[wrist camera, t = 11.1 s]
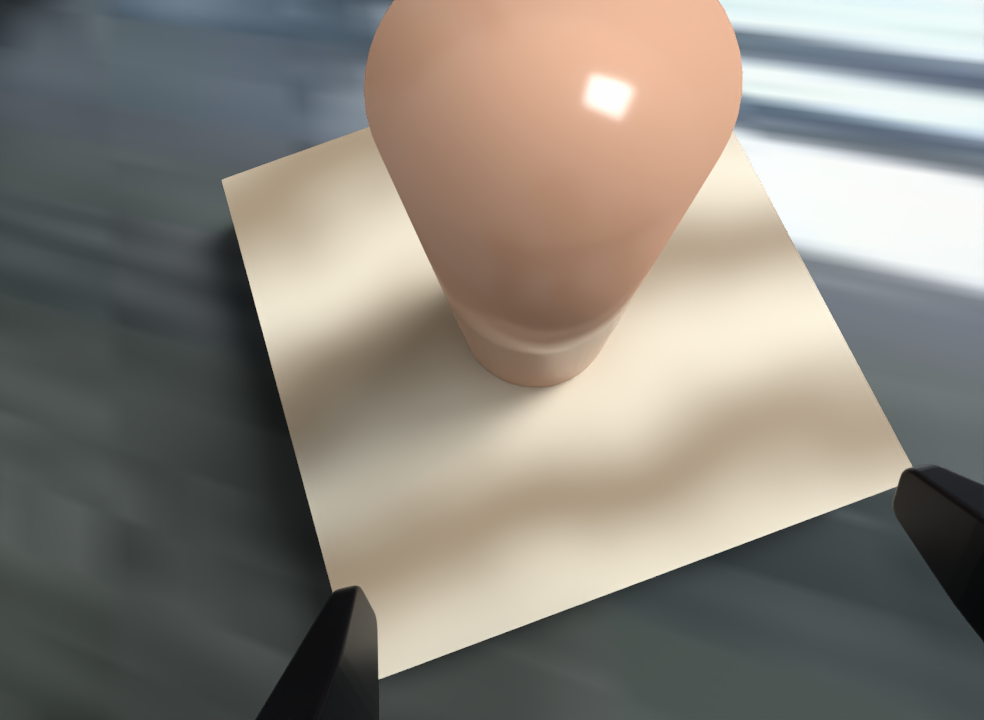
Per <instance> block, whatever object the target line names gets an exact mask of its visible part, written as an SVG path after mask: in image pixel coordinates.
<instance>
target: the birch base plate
mask: <svg viewBox="0 0 984 720" xmlns="http://www.w3.org/2000/svg"><path fill="white" fill-rule="evenodd" d="M222 183H223V187H224V191H225V194H226V198H227V202H228V205H229V209H230V213H231V217H232V220H233V224H234V228H235V231H236V235H237V239H238V243H239V246H240V250H241V254H242V257H243V261H244V265H245V269H246V272H247V276H248V280H249V283H250V287H251V291H252V295H253V298H254V302H255V306H256V309H257V313H258V317H259V321H260V324H261V328H262V332H263V335H264V339H265V343H266V347H267V350H268V354H269V358H270V361H271V365H272V369H273V373H274V376H275V380H276V384H277V387H278V391H279V395H280V399H281V402H282V406H283V410H284V414H285V417H286V421H287V425H288V428H289V432H290V436H291V440H292V443H293V447H294V451H295V454H296V458H297V462H298V466H299V469H300V473H301V477H302V480H303V484H304V488H305V492H306V495H307V499H308V503H309V506H310V510H311V514H312V518H313V521H314V525H315V529H316V532H317V536H318V540H319V544H320V547H321V551H322V555H323V558H324V562H325V566H326V570H327V573H328V577H329V581H330V584H331V588H332V592H334V591H335V590H337V589H340V588H345V587H350V586H354V585H357V586H359V587H361V589H362V590H363V592H364V594H365V595H366V597H367V599H368V601H369V603H370V605H371V607H372V608H373V610H374V612H375V615H376V619H377V628H378V678H379V679H382V678H384V677H387V676H390V675H392V674H395V673H398V672H401V671H403V670H406V669H409V668H411V667H414V666H417V665H419V664H422V663H425V662H427V661H430V660H433V659H435V658H438V657H441V656H443V655H446V654H449V653H451V652H454V651H457V650H459V649H462V648H465V647H467V646H470V645H473V644H476V643H478V642H481V641H484V640H486V639H489V638H492V637H494V636H497V635H500V634H502V633H505V632H508V631H510V630H513V629H516V628H518V627H521V626H524V625H526V624H529V623H532V622H534V621H537V620H540V619H543V618H545V617H548V616H551V615H553V614H556V613H559V612H561V611H564V610H567V609H569V608H572V607H575V606H577V605H580V604H583V603H585V602H588V601H591V600H593V599H596V598H599V597H601V596H604V595H607V594H610V593H612V592H615V591H618V590H620V589H623V588H626V587H628V586H631V585H634V584H636V583H639V582H642V581H644V580H647V579H650V578H652V577H655V576H658V575H660V574H663V573H666V572H668V571H671V570H674V569H677V568H679V567H682V566H685V565H687V564H690V563H693V562H695V561H698V560H701V559H703V558H706V557H709V556H711V555H714V554H717V553H719V552H722V551H725V550H727V549H730V548H733V547H735V546H738V545H741V544H744V543H746V542H749V541H752V540H754V539H757V538H760V537H762V536H765V535H768V534H770V533H773V532H776V531H778V530H781V529H784V528H786V527H789V526H792V525H794V524H797V523H800V522H802V521H805V520H808V519H810V518H813V517H816V516H819V515H821V514H824V513H827V512H829V511H832V510H835V509H837V508H840V507H843V506H845V505H848V504H851V503H853V502H856V501H859V500H861V499H864V498H867V497H869V496H872V495H875V494H877V493H880V492H883V491H886V490H888V489H891V488H894V487H896V486H898V482H899V479H900V476H901V474H902V472H903V471H904V470H905V469H907V468H911V467H912V465H911V463H910V461H909V459H908V458H907V456H906V454H905V452H904V450H903V448H902V446H901V444H900V443H899V441H898V439H897V437H896V435H895V433H894V431H893V429H892V428H891V426H890V424H889V422H888V420H887V418H886V416H885V414H884V413H883V411H882V409H881V407H880V405H879V403H878V401H877V399H876V398H875V396H874V394H873V392H872V390H871V388H870V386H869V385H868V383H867V381H866V379H865V377H864V375H863V373H862V371H861V370H860V368H859V366H858V364H857V362H856V360H855V358H854V356H853V355H852V353H851V351H850V349H849V347H848V345H847V343H846V341H845V340H844V338H843V336H842V334H841V332H840V330H839V328H838V326H837V325H836V323H835V321H834V319H833V317H832V315H831V313H830V311H829V310H828V308H827V306H826V304H825V302H824V300H823V298H822V296H821V295H820V293H819V291H818V289H817V287H816V285H815V283H814V281H813V280H812V278H811V276H810V274H809V272H808V270H807V268H806V266H805V265H804V263H803V261H802V259H801V257H800V255H799V253H798V251H797V250H796V248H795V246H794V244H793V242H792V240H791V238H790V236H789V235H788V233H787V231H786V229H785V227H784V225H783V223H782V221H781V220H780V218H779V216H778V214H777V212H776V210H775V208H774V206H773V205H772V203H771V201H770V199H769V197H768V195H767V193H766V191H765V190H764V188H763V186H762V184H761V182H760V180H759V178H758V176H757V175H756V173H755V171H754V169H753V167H752V165H751V163H750V161H749V160H748V158H747V156H746V154H745V152H744V150H743V148H742V146H741V145H740V143H739V141H738V139H737V137H736V135H735V133H734V131H732V134H731V137H730V139H729V141H728V143H727V145H726V147H725V148H724V150H723V152H722V154H721V156H720V158H719V160H718V161H717V163H716V164H715V166H714V168H713V169H712V171H711V173H710V174H709V176H708V177H707V179H706V181H705V182H704V184H703V186H702V187H701V189H700V190H699V192H698V194H697V195H696V197H695V199H694V200H693V202H692V203H691V205H690V207H689V208H688V210H687V212H686V213H685V215H684V216H683V218H682V220H681V221H680V223H679V225H678V226H677V228H676V229H675V231H674V233H673V234H672V236H671V237H670V239H669V241H668V242H667V244H666V246H665V247H664V249H663V250H662V252H661V254H660V255H659V257H658V259H657V260H656V262H655V263H654V265H653V267H652V268H651V270H650V272H649V273H648V275H647V276H646V278H645V280H644V281H643V283H642V285H641V286H640V288H639V289H638V291H637V293H636V294H635V296H634V298H633V299H632V301H631V302H630V304H629V306H628V307H627V309H626V310H625V312H624V314H623V315H622V317H621V319H620V320H619V322H618V323H617V325H616V327H615V328H614V330H613V332H612V333H611V335H610V336H609V338H608V340H607V341H606V343H605V345H604V346H603V348H602V349H601V351H600V353H599V354H598V355H597V357H596V358H595V360H594V361H593V362H592V363H591V364H590V365H589V366H588V367H587V368H586V369H585V370H584V371H582V372H581V373H580V374H578V375H577V376H575V377H573V378H572V379H570V380H568V381H565V382H563V383H560V384H557V385H553V386H548V387H535V388H531V387H522V386H518V385H514V384H511V383H508V382H506V381H503V380H501V379H499V378H498V377H496V376H494V375H493V374H491V373H490V372H489V371H487V370H486V369H485V368H484V367H483V366H482V365H481V364H480V363H479V362H478V361H477V360H476V358H475V357H474V356H473V354H472V352H471V351H470V349H469V347H468V345H467V343H466V341H465V338H464V336H463V334H462V332H461V330H460V328H459V325H458V323H457V321H456V319H455V317H454V314H453V312H452V310H451V308H450V306H449V304H448V301H447V299H446V297H445V295H444V293H443V291H442V288H441V286H440V284H439V282H438V280H437V277H436V275H435V273H434V271H433V269H432V267H431V264H430V262H429V260H428V258H427V256H426V253H425V251H424V249H423V247H422V245H421V243H420V240H419V238H418V236H417V234H416V232H415V229H414V227H413V225H412V223H411V221H410V219H409V216H408V214H407V212H406V210H405V208H404V205H403V203H402V201H401V199H400V197H399V195H398V192H397V190H396V188H395V186H394V184H393V181H392V179H391V177H390V175H389V173H388V171H387V168H386V166H385V164H384V162H383V160H382V158H381V155H380V153H379V151H378V148H377V146H376V144H375V141H374V139H373V137H372V134H371V130H370V127H367V128H365V129H362V130H359V131H356V132H353V133H351V134H348V135H345V136H342V137H339V138H337V139H334V140H331V141H328V142H326V143H323V144H320V145H317V146H314V147H312V148H309V149H306V150H303V151H300V152H298V153H295V154H292V155H289V156H287V157H284V158H281V159H278V160H275V161H273V162H270V163H267V164H264V165H261V166H259V167H256V168H253V169H250V170H248V171H245V172H242V173H239V174H236V175H234V176H231V177H228V178H225V179H222Z"/></svg>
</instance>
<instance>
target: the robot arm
mask: <svg viewBox="0 0 984 720" xmlns="http://www.w3.org/2000/svg"><path fill="white" fill-rule="evenodd" d="M892 504H893V510H894V513H895V516H896V518H897V519H898V521H899V522H900V524H901V525H902V527H903V528H904V530H905V531H906V533H907V534H908V536H909V537H910V539H911V540H912V542H913V543H914V545H915V547H916V548H917V550H918V551H919V553H920V554H921V556H922V557H923V559H924V560H925V562H926V563H927V565H928V566H929V568H930V569H931V571H932V572H933V574H934V575H935V577H936V578H937V580H938V581H939V583H940V584H941V586H942V587H943V589H944V590H945V592H946V593H947V595H948V596H949V597H950V599H951V600H952V602H953V603H954V605H955V606H956V607H957V609H958V610H959V611H960V613H961V614H962V615H963V616H964V618H965V619H966V620H967V622H968V623H969V624H970V625H971V627H972V628H973V629H974V630H975V632H976V633H977V634H978V635H979V637H980V638H981V639H982V640H983V642H984V485H983V484H980V483H978V482H976V481H973V480H971V479H969V478H966V477H964V476H962V475H959V474H957V473H955V472H952V471H950V470H948V469H945V468H943V467H940V466H938V465H934V464H925V465H920V466H915V467H911V468H907V469H905V470H904V471H903V472H902V474H901V476H900V479H899V482H898V486H897V489H896V492H895V495H894V498H893V503H892ZM255 720H379V678H378V628H377V619H376V615H375V612H374V610H373V608H372V607H371V605H370V603H369V601H368V599H367V597H366V595H365V594H364V592H363V590H362V589H361V587H359V586H357V585H354V586H350V587H345V588H340V589H337V590H335V591H334V592H333V593H332V594H331V596H330V597H329V599H328V600H327V602H326V604H325V605H324V607H323V609H322V610H321V612H320V614H319V615H318V617H317V619H316V620H315V622H314V624H313V625H312V627H311V628H310V630H309V632H308V633H307V635H306V637H305V638H304V640H303V642H302V643H301V645H300V647H299V648H298V650H297V652H296V653H295V655H294V657H293V658H292V660H291V662H290V663H289V665H288V666H287V668H286V670H285V671H284V673H283V675H282V676H281V678H280V680H279V681H278V683H277V685H276V686H275V688H274V690H273V691H272V693H271V695H270V696H269V698H268V700H267V701H266V703H265V705H264V706H263V708H262V709H261V711H260V713H259V714H258V716H257V718H256V719H255Z"/></svg>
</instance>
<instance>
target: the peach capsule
mask: <svg viewBox="0 0 984 720" xmlns="http://www.w3.org/2000/svg"><path fill="white" fill-rule="evenodd" d="M741 96H742V65H741V57H740V50H739V47H738V43H737V40H736V36H735V33H734V29H733V27H732V25H731V23H730V21H729V19H728V16H727V14H726V12H725V10H724V8H723V7H722V5H721V4H720V2H719V1H718V0H394V1H393V3H392V4H391V6H390V7H389V9H388V10H387V11H386V13H385V15H384V17H383V19H382V21H381V23H380V25H379V27H378V29H377V31H376V33H375V36H374V39H373V41H372V44H371V47H370V50H369V54H368V59H367V64H366V70H365V83H364V97H365V107H366V115H367V119H368V123H369V127H370V130H371V134H372V137H373V139H374V141H375V144H376V146H377V148H378V151H379V153H380V155H381V158H382V160H383V162H384V164H385V166H386V168H387V171H388V173H389V175H390V177H391V179H392V181H393V184H394V186H395V188H396V190H397V192H398V195H399V197H400V199H401V201H402V203H403V205H404V208H405V210H406V212H407V214H408V216H409V219H410V221H411V223H412V225H413V227H414V229H415V232H416V234H417V236H418V238H419V240H420V243H421V245H422V247H423V249H424V251H425V253H426V256H427V258H428V260H429V262H430V264H431V267H432V269H433V271H434V273H435V275H436V277H437V280H438V282H439V284H440V286H441V288H442V291H443V293H444V295H445V297H446V299H447V301H448V304H449V306H450V308H451V310H452V312H453V314H454V317H455V319H456V321H457V323H458V325H459V328H460V330H461V332H462V334H463V336H464V338H465V341H466V343H467V345H468V347H469V349H470V351H471V352H472V354H473V356H474V357H475V358H476V360H477V361H478V362H479V363H480V364H481V365H482V366H483V367H484V368H485V369H486V370H487V371H489V372H490V373H491V374H493V375H494V376H496V377H498V378H499V379H501V380H503V381H506V382H508V383H511V384H514V385H518V386H522V387H531V388H535V387H548V386H553V385H557V384H560V383H563V382H565V381H568V380H570V379H572V378H573V377H575V376H577V375H578V374H580V373H581V372H582V371H584V370H585V369H586V368H587V367H588V366H589V365H590V364H591V363H592V362H593V361H594V360H595V358H596V357H597V355H598V354H599V353H600V351H601V349H602V348H603V346H604V345H605V343H606V341H607V340H608V338H609V336H610V335H611V333H612V332H613V330H614V328H615V327H616V325H617V323H618V322H619V320H620V319H621V317H622V315H623V314H624V312H625V310H626V309H627V307H628V306H629V304H630V302H631V301H632V299H633V298H634V296H635V294H636V293H637V291H638V289H639V288H640V286H641V285H642V283H643V281H644V280H645V278H646V276H647V275H648V273H649V272H650V270H651V268H652V267H653V265H654V263H655V262H656V260H657V259H658V257H659V255H660V254H661V252H662V250H663V249H664V247H665V246H666V244H667V242H668V241H669V239H670V237H671V236H672V234H673V233H674V231H675V229H676V228H677V226H678V225H679V223H680V221H681V220H682V218H683V216H684V215H685V213H686V212H687V210H688V208H689V207H690V205H691V203H692V202H693V200H694V199H695V197H696V195H697V194H698V192H699V190H700V189H701V187H702V186H703V184H704V182H705V181H706V179H707V177H708V176H709V174H710V173H711V171H712V169H713V168H714V166H715V164H716V163H717V161H718V160H719V158H720V156H721V154H722V152H723V150H724V148H725V147H726V145H727V143H728V141H729V139H730V137H731V134H732V131H733V128H734V125H735V123H736V120H737V117H738V112H739V107H740V101H741Z"/></svg>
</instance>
